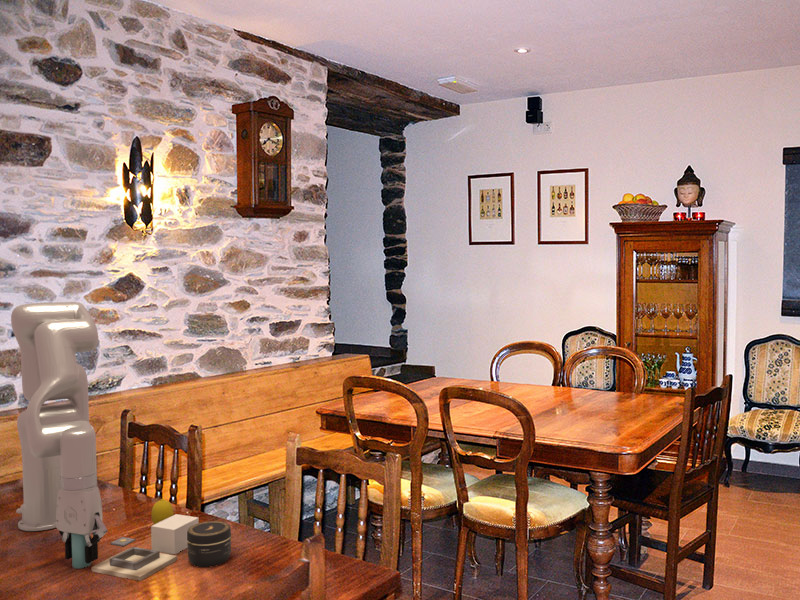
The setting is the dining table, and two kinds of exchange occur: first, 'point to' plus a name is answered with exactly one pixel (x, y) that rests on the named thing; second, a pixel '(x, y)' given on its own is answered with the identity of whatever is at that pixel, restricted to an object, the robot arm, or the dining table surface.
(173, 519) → the block
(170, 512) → the lemon
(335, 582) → the dining table surface
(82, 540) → the peg
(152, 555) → the board
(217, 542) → the jar
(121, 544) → the tile
